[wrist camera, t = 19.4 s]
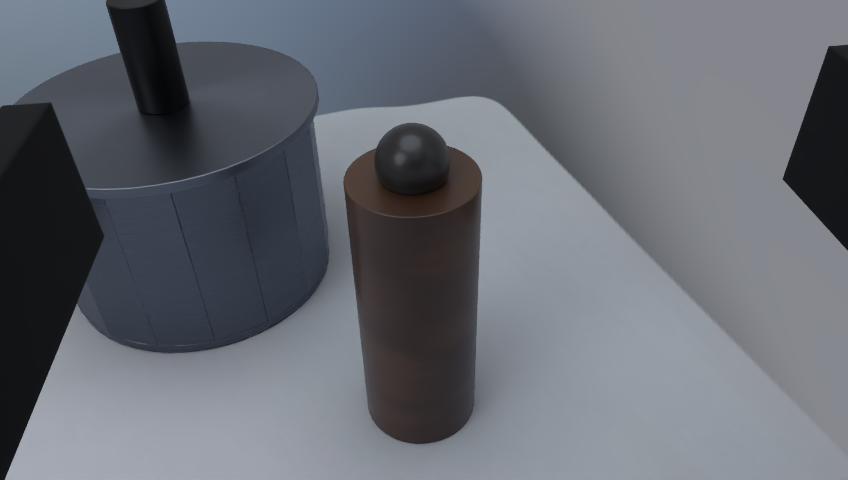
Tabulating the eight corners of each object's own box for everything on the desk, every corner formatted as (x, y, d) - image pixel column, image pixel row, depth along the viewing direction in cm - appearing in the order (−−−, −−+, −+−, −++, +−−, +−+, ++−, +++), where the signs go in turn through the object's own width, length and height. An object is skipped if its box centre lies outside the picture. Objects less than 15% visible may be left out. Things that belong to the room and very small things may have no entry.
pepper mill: (465, 354, 34) (471, 90, 25) (482, 437, 30) (496, 161, 21) (365, 363, 33) (337, 99, 25) (370, 448, 30) (338, 172, 21)
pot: (329, 186, 45) (311, 46, 39) (328, 339, 35) (304, 179, 29) (114, 202, 44) (63, 61, 39) (45, 365, 34) (-39, 204, 28)
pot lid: (321, 52, 40) (308, -59, 36) (318, 197, 29) (298, 57, 25) (60, 68, 39) (18, -45, 35) (-51, 225, 28) (-129, 83, 24)
